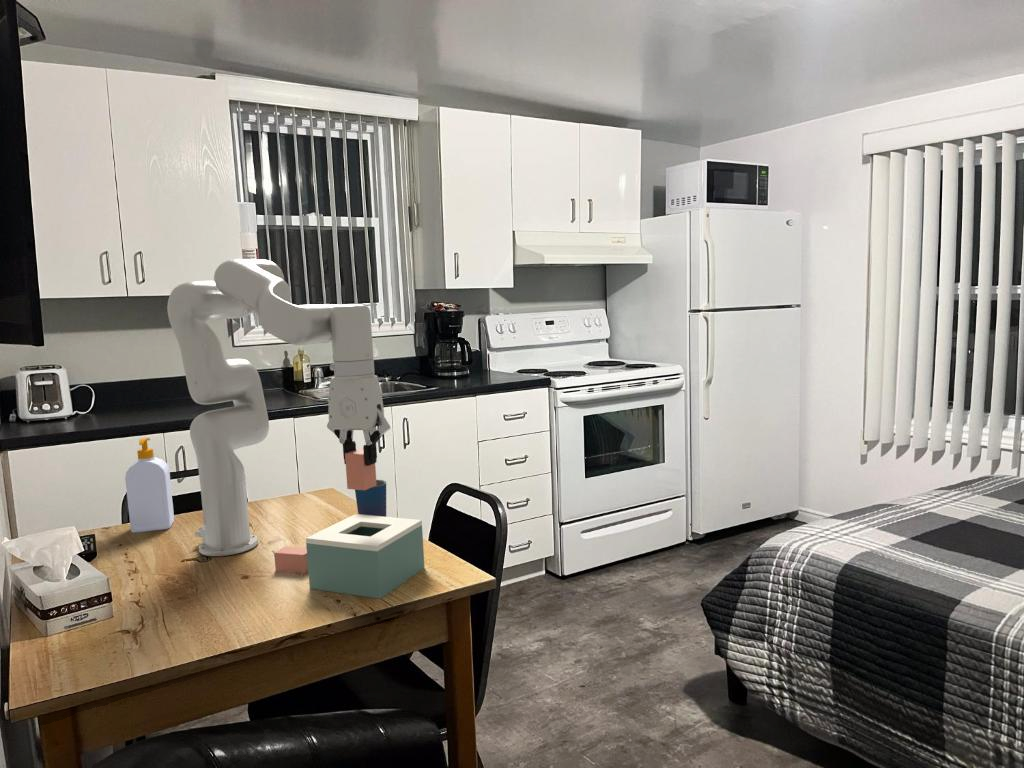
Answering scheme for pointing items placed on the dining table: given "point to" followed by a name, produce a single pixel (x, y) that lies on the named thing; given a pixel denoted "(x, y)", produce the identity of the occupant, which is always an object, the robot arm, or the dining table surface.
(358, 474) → the salmon pink block
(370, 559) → the green and cream box
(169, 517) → the soap bottle
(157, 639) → the dining table surface
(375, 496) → the cup
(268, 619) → the dining table surface
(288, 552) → the block
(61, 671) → the dining table surface
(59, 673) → the dining table surface
